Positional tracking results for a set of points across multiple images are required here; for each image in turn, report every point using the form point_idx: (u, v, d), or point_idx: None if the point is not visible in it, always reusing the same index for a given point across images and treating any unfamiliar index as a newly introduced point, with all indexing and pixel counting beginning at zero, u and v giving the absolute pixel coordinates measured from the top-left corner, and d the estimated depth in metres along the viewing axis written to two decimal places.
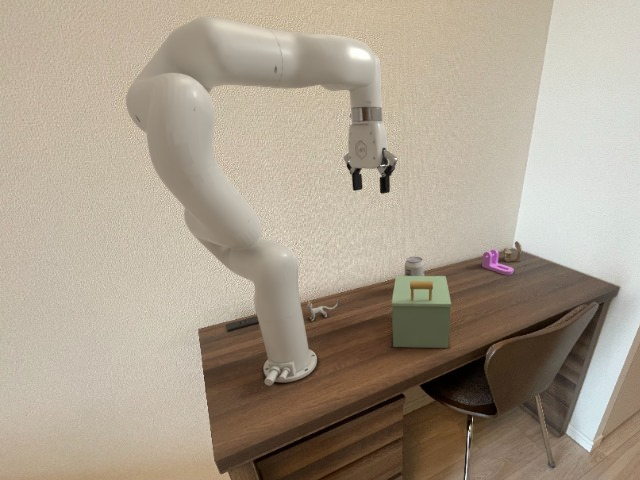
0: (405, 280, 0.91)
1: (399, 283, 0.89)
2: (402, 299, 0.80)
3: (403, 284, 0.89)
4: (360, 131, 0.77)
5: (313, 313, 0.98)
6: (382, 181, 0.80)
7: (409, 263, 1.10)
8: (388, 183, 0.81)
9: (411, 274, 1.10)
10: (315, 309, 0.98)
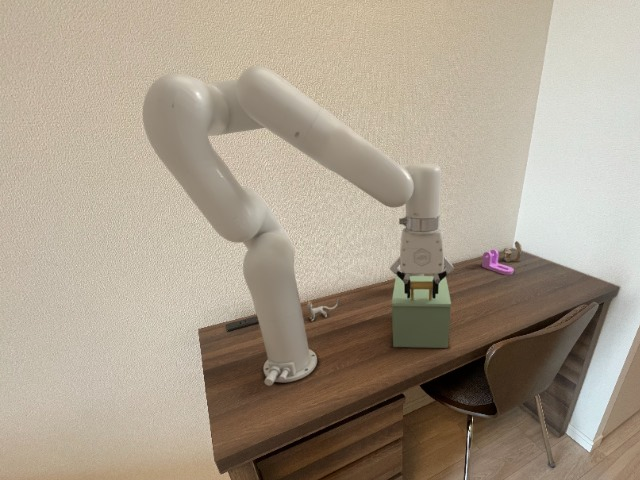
0: None
1: (399, 283, 0.89)
2: (402, 299, 0.80)
3: (403, 284, 0.89)
4: (423, 240, 0.70)
5: (313, 313, 0.98)
6: (435, 287, 0.77)
7: None
8: None
9: (411, 274, 1.10)
10: (315, 309, 0.98)
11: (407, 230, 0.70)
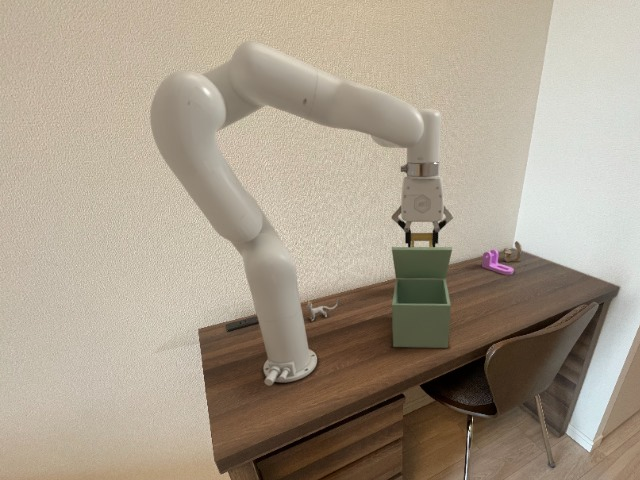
0: None
1: None
2: None
3: None
4: (423, 186, 0.73)
5: (313, 313, 0.98)
6: (435, 236, 0.80)
7: None
8: None
9: None
10: (315, 309, 0.98)
11: (408, 176, 0.73)
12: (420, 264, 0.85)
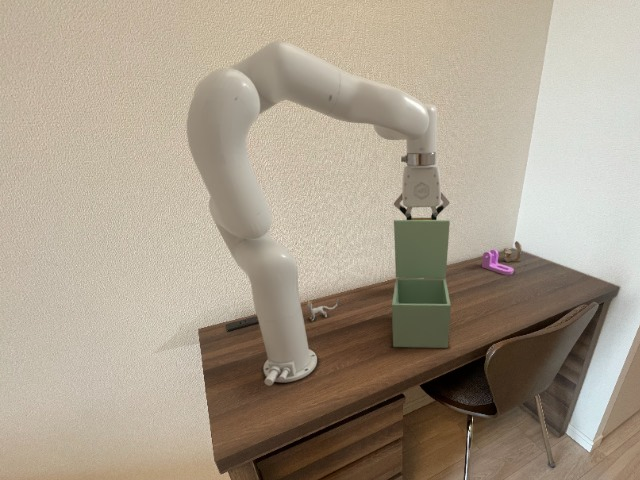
0: None
1: None
2: None
3: None
4: (422, 174, 0.81)
5: (313, 313, 0.98)
6: None
7: None
8: None
9: None
10: (315, 309, 0.98)
11: (408, 166, 0.81)
12: (420, 248, 0.88)
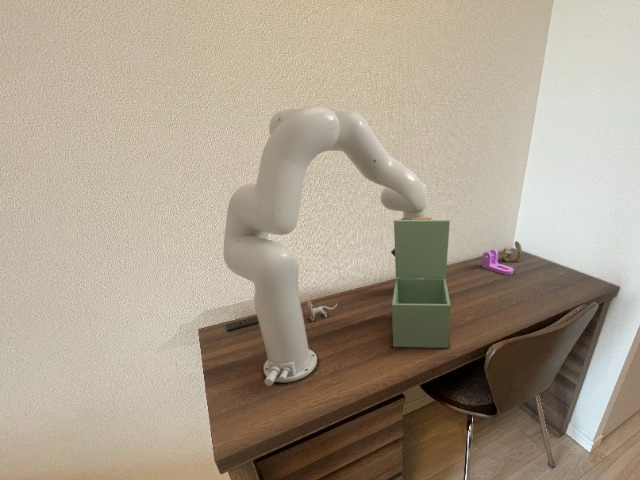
0: None
1: None
2: None
3: None
4: None
5: (313, 313, 0.98)
6: None
7: None
8: None
9: None
10: (315, 309, 0.98)
11: None
12: (420, 248, 0.88)
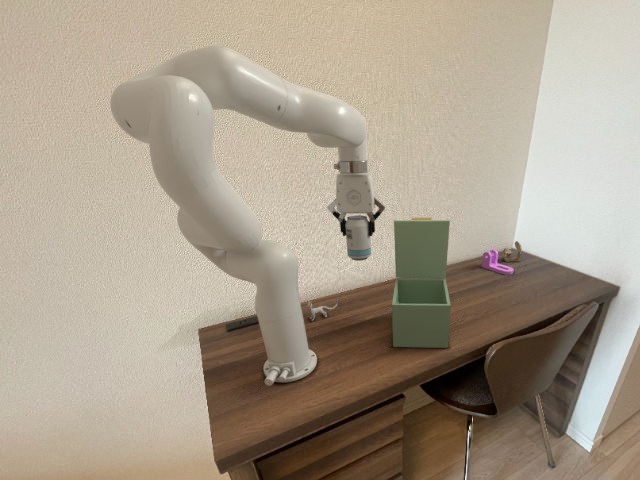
0: None
1: None
2: None
3: None
4: (353, 181, 0.83)
5: (313, 313, 0.98)
6: (371, 225, 0.90)
7: (349, 221, 0.88)
8: (374, 226, 0.91)
9: (352, 235, 0.89)
10: (315, 309, 0.98)
11: (340, 173, 0.83)
12: (420, 248, 0.88)
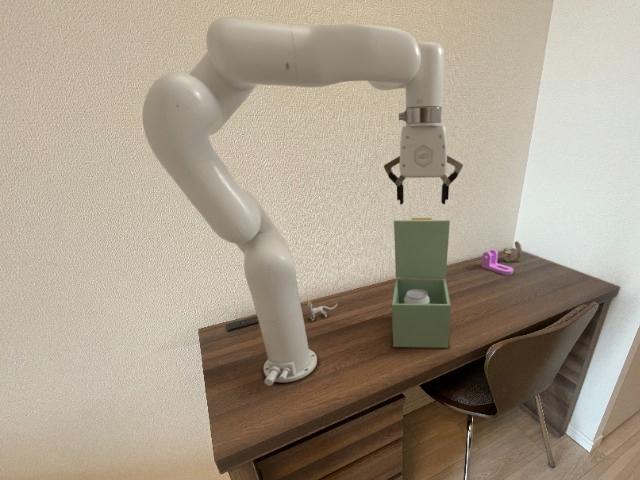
0: None
1: None
2: None
3: None
4: (424, 134, 0.65)
5: (313, 313, 0.98)
6: (445, 190, 0.72)
7: (411, 300, 0.83)
8: None
9: None
10: (315, 309, 0.98)
11: (407, 124, 0.66)
12: (420, 248, 0.88)
